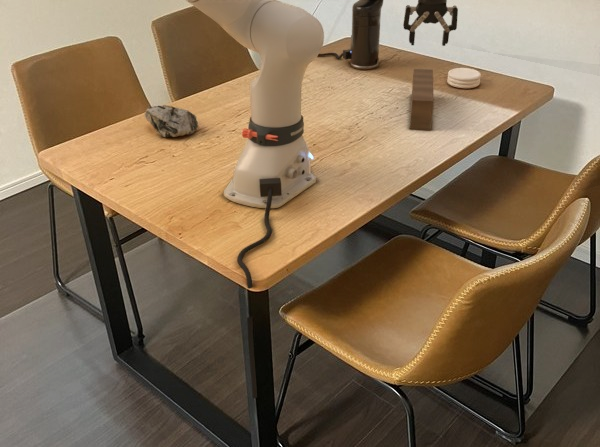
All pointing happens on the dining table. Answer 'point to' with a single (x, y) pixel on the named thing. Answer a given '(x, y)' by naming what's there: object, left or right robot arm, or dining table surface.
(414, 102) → the bar
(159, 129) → the rock
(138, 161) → the dining table surface
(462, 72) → the coaster
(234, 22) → the left robot arm
